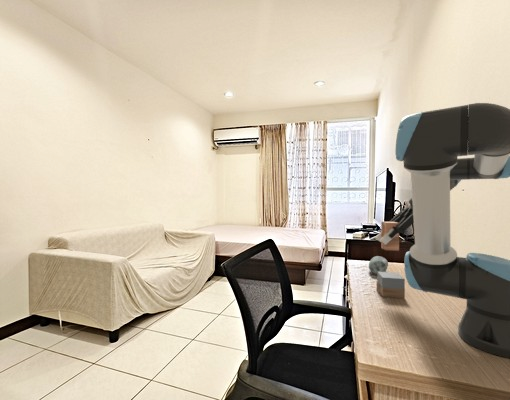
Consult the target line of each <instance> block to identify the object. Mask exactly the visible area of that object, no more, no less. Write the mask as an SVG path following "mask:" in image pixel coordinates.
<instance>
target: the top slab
mask: <svg viewBox="0 0 510 400" xmlns="http://www.w3.org/2000/svg"><path fill="white" fill-rule="evenodd" d="M376 276H377V280H376V282H377V281H378V282H379V284H380V285H381V286H382V288H396V289H405V290H406V287H405V282H406V281H405V280H406V278H405V277H403V276H402V275H401V274H400V273H399V272H390V271H386V272H377V275H376Z"/></svg>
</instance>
